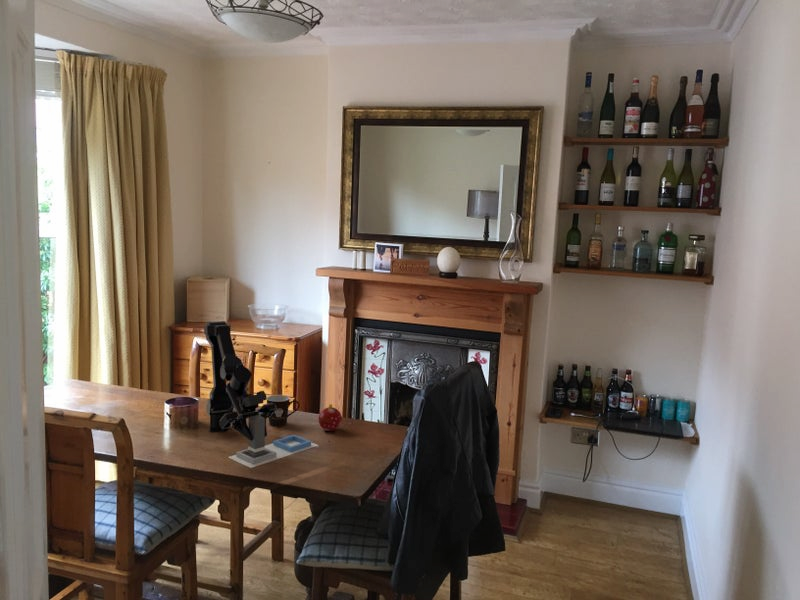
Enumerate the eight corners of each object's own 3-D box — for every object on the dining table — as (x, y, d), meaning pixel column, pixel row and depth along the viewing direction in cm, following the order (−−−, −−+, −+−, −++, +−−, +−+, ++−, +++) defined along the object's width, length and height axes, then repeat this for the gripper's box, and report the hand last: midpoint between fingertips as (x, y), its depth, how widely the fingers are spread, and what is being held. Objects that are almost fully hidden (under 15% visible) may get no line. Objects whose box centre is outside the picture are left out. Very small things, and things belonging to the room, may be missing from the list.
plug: (245, 456, 201) (245, 417, 199) (258, 452, 205) (258, 414, 203) (254, 461, 198) (254, 421, 196) (267, 457, 201) (267, 418, 200)
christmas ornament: (313, 430, 230) (314, 404, 229) (327, 424, 238) (328, 399, 237) (332, 435, 226) (332, 409, 225) (346, 429, 233) (346, 403, 232)
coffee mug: (262, 426, 233) (262, 400, 232) (271, 419, 242) (271, 394, 240) (292, 429, 231) (292, 403, 230) (300, 422, 240) (300, 396, 238)
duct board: (250, 470, 192) (250, 463, 192) (227, 460, 200) (227, 452, 200) (318, 448, 214) (318, 440, 213) (295, 439, 221) (295, 432, 221)
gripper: (224, 388, 194) (244, 432, 188) (273, 378, 208) (294, 419, 202) (210, 407, 200) (229, 450, 194) (259, 396, 214) (278, 436, 208)
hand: (259, 438), depth 199 cm, fingers open, 5 cm apart
